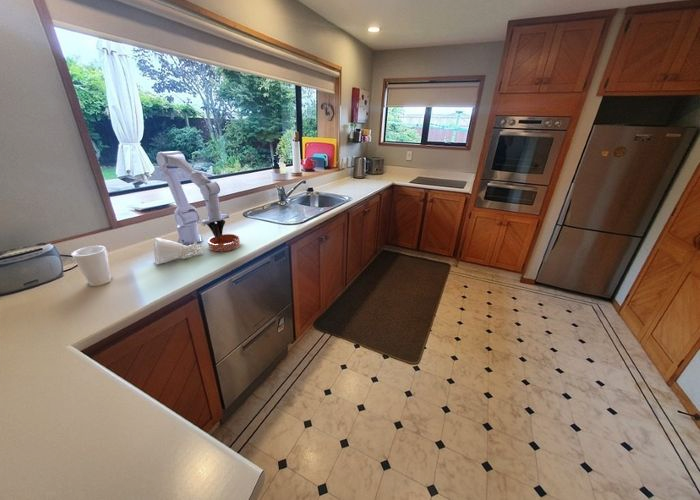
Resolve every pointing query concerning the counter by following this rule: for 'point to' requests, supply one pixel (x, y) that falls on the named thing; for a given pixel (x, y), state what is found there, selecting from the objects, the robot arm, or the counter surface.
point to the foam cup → (93, 264)
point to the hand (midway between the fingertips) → (218, 235)
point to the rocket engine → (173, 250)
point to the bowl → (224, 242)
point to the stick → (218, 234)
